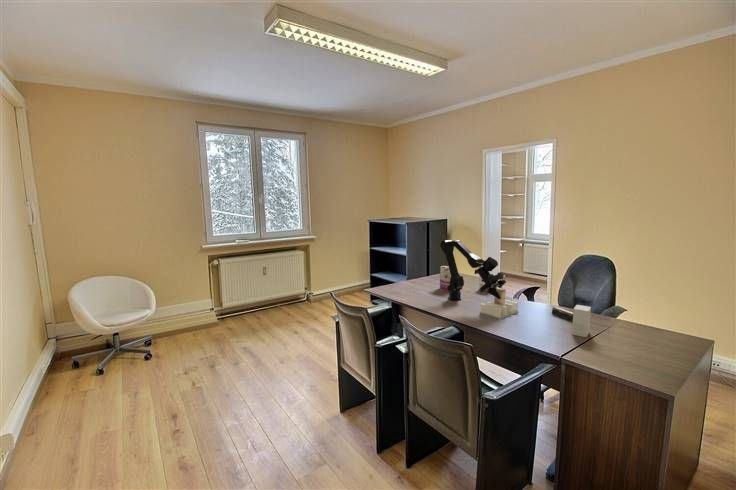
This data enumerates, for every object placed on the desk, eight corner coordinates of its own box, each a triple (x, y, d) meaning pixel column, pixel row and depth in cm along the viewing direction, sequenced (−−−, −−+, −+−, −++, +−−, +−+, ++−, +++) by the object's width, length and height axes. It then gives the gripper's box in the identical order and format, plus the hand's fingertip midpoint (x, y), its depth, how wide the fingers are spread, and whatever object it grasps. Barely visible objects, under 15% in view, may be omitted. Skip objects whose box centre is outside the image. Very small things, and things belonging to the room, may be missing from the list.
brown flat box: (574, 326, 180) (574, 318, 179) (535, 311, 203) (535, 304, 202) (593, 322, 185) (594, 314, 184) (553, 308, 208) (554, 301, 207)
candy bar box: (456, 289, 249) (457, 267, 247) (452, 291, 246) (453, 268, 243) (443, 287, 257) (443, 265, 255) (439, 288, 254) (439, 266, 251)
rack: (479, 312, 201) (480, 303, 200) (498, 306, 211) (498, 297, 211) (500, 319, 190) (500, 309, 190) (518, 312, 201) (518, 302, 200)
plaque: (493, 308, 202) (494, 288, 200) (496, 307, 203) (497, 287, 202) (501, 310, 198) (502, 290, 196) (504, 309, 199) (505, 289, 198)
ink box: (493, 290, 246) (493, 274, 244) (489, 291, 243) (489, 275, 241) (482, 288, 252) (483, 272, 251) (478, 289, 249) (479, 273, 248)
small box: (574, 329, 175) (576, 304, 173) (589, 332, 171) (591, 306, 169) (571, 334, 169) (573, 308, 167) (586, 337, 165) (588, 311, 163)
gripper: (484, 270, 195) (501, 293, 188) (504, 265, 206) (520, 287, 199) (472, 281, 202) (488, 304, 195) (491, 276, 213) (507, 298, 206)
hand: (501, 298), depth 199 cm, fingers closed on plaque, 3 cm apart
